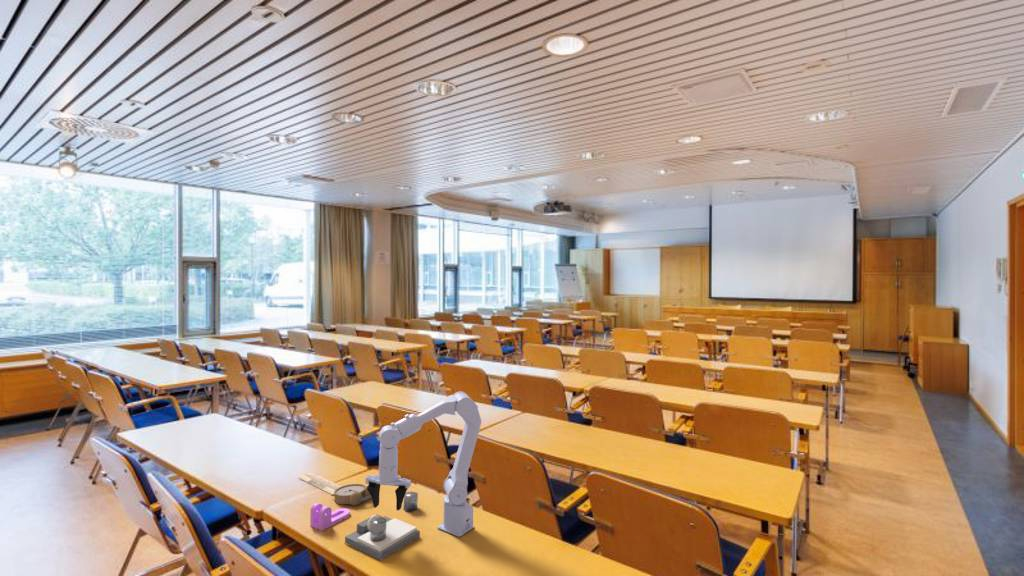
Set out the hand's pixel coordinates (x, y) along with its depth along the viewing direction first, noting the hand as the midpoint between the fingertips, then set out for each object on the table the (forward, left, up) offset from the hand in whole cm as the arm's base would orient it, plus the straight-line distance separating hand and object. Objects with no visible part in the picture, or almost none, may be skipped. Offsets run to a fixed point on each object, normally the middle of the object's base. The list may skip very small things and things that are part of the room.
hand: (387, 507), depth 154 cm
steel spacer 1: (-2, +6, -6) cm, 9 cm away
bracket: (+23, +3, -10) cm, 25 cm away
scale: (0, +2, -9) cm, 10 cm away
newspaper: (+50, -12, -10) cm, 52 cm away
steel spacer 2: (+8, -18, -9) cm, 22 cm away
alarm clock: (+29, -11, -10) cm, 33 cm away
